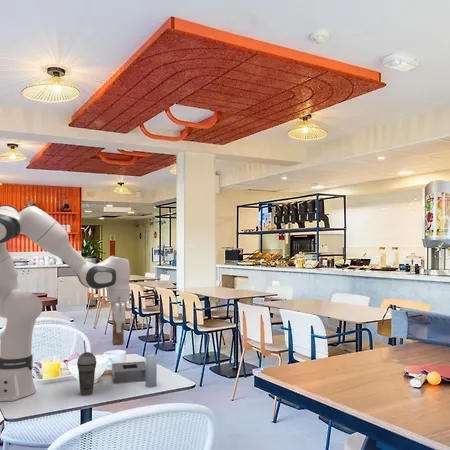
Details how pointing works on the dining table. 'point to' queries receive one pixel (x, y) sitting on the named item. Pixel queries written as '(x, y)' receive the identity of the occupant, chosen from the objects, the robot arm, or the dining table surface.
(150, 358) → the round peg
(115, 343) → the square peg
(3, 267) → the robot arm
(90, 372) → the beverage cup
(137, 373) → the bore block
